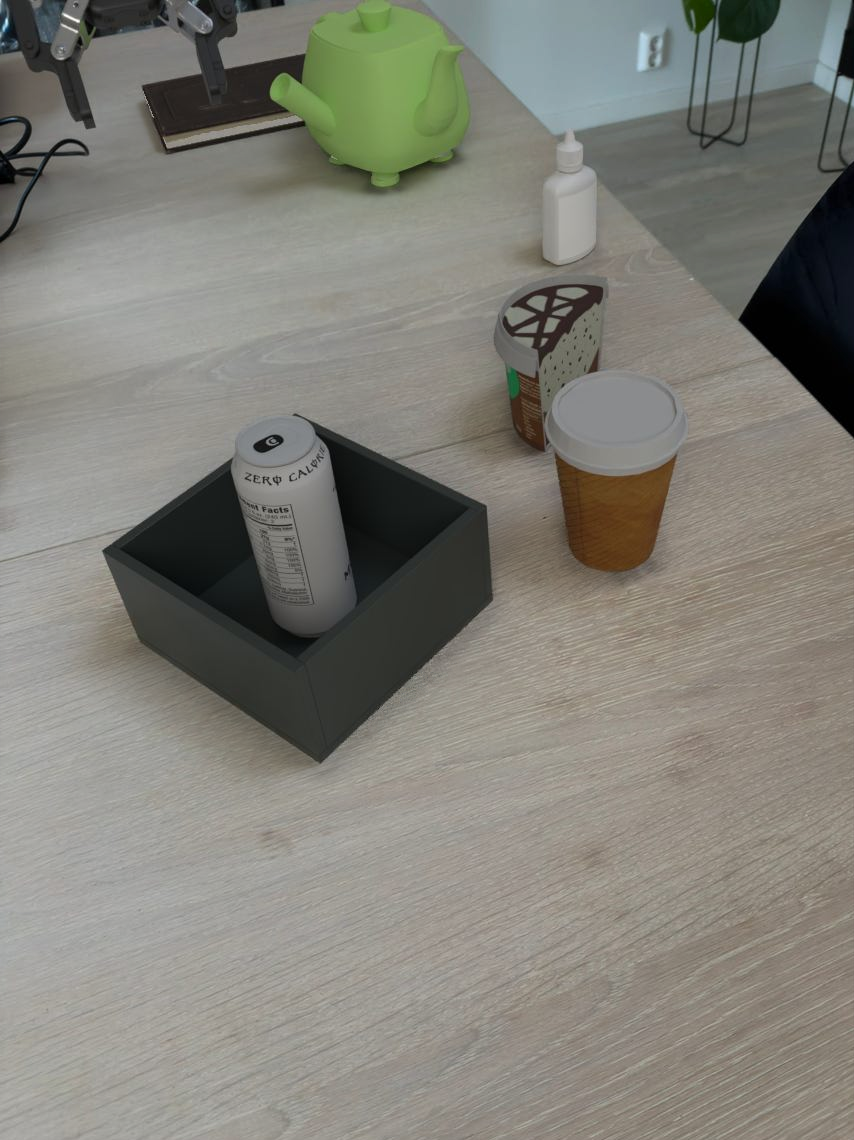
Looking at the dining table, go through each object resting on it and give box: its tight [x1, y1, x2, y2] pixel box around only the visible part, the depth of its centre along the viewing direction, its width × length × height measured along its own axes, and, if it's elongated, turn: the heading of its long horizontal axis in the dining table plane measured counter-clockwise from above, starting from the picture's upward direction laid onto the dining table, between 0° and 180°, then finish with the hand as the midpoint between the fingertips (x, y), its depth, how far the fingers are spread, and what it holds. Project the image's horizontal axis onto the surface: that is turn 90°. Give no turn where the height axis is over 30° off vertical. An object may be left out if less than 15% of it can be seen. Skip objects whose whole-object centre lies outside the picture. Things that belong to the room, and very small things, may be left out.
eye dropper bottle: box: [541, 128, 598, 266], centre depth 106 cm, size 4×6×12 cm
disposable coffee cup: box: [544, 369, 690, 572], centre depth 78 cm, size 10×10×12 cm
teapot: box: [270, 0, 471, 188], centre depth 119 cm, size 25×22×16 cm
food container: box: [493, 273, 610, 453], centre depth 90 cm, size 12×6×10 cm, turn 149°
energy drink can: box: [231, 414, 357, 638], centre depth 73 cm, size 6×6×15 cm
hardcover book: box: [141, 52, 306, 154], centre depth 138 cm, size 16×23×2 cm
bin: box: [101, 413, 494, 764], centre depth 76 cm, size 18×18×9 cm
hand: (153, 111), depth 76 cm, fingers open, 8 cm apart
